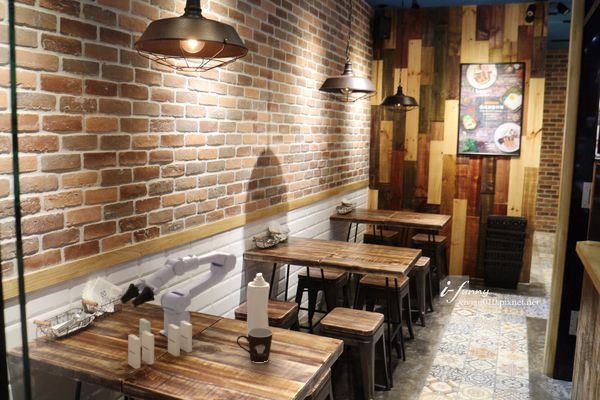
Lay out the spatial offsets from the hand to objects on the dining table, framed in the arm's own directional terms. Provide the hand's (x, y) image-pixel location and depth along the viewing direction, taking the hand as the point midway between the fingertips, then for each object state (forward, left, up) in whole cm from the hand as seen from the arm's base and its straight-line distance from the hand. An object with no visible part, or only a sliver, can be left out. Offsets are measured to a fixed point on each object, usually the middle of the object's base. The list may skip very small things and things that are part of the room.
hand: (127, 302), depth 182 cm
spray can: (-42, +22, -17) cm, 51 cm away
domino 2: (-5, +3, -17) cm, 18 cm away
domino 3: (0, +14, -17) cm, 22 cm away
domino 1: (+5, +14, -17) cm, 22 cm away
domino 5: (-15, +14, -17) cm, 27 cm away
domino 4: (-10, +14, -17) cm, 24 cm away
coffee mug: (-29, +36, -17) cm, 49 cm away
